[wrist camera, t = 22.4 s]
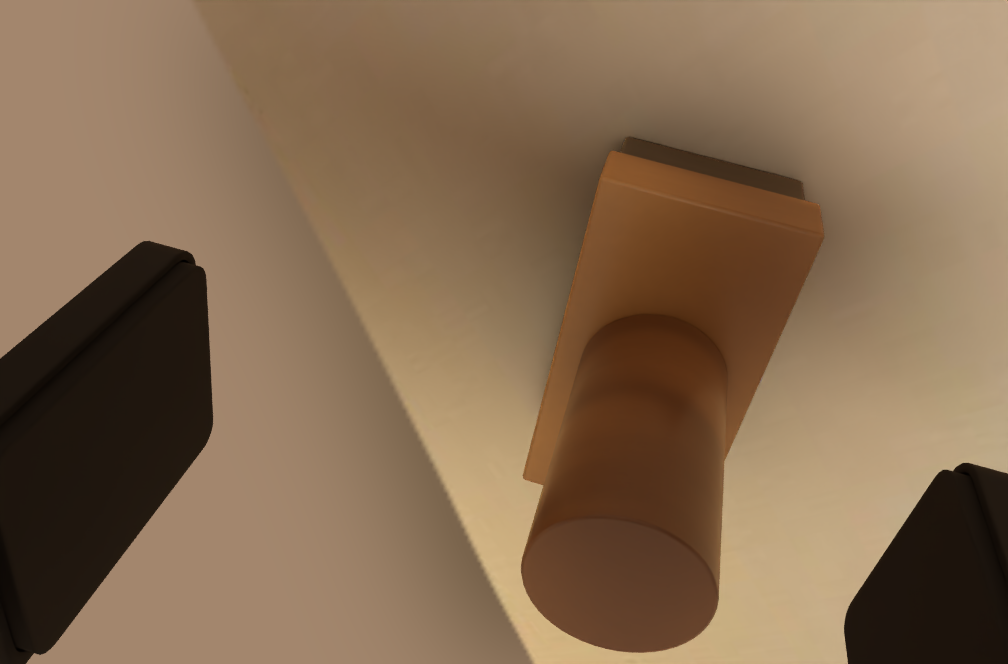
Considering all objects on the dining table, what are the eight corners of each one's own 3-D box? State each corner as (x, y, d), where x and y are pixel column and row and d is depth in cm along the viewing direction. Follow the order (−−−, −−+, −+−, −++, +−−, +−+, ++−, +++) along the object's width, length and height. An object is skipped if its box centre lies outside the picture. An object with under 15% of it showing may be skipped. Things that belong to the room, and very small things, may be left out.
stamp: (545, 407, 24) (452, 690, 16) (619, 124, 19) (534, 346, 12) (699, 452, 23) (675, 764, 16) (816, 174, 18) (858, 439, 11)
